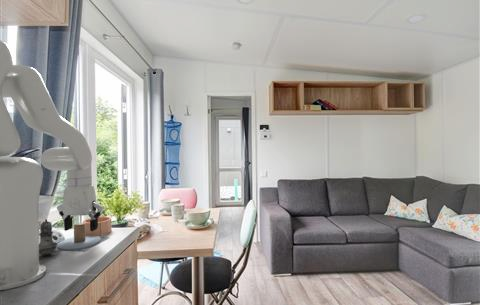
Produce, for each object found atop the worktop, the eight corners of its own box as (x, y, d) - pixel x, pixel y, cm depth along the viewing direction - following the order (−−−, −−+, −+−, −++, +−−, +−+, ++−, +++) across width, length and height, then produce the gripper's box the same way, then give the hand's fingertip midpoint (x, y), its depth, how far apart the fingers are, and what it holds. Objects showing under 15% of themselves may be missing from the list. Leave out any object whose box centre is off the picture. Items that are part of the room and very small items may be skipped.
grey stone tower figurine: (29, 259, 81) (29, 220, 81) (48, 252, 87) (48, 216, 87) (44, 261, 80) (43, 221, 79) (62, 254, 85) (61, 217, 85)
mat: (85, 252, 86) (84, 251, 86) (45, 251, 88) (45, 250, 88) (110, 238, 100) (110, 237, 100) (75, 237, 101) (75, 236, 101)
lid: (84, 250, 87) (84, 230, 87) (47, 249, 88) (47, 229, 88) (108, 237, 100) (107, 219, 100) (75, 237, 101) (75, 219, 101)
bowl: (101, 237, 102) (101, 223, 101) (77, 237, 102) (77, 222, 102) (116, 229, 111) (116, 216, 111) (93, 229, 112) (93, 216, 112)
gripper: (48, 183, 91) (50, 232, 92) (95, 184, 89) (97, 233, 90) (65, 180, 99) (66, 225, 99) (108, 180, 97) (110, 226, 98)
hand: (81, 229), depth 95 cm, fingers open, 9 cm apart
